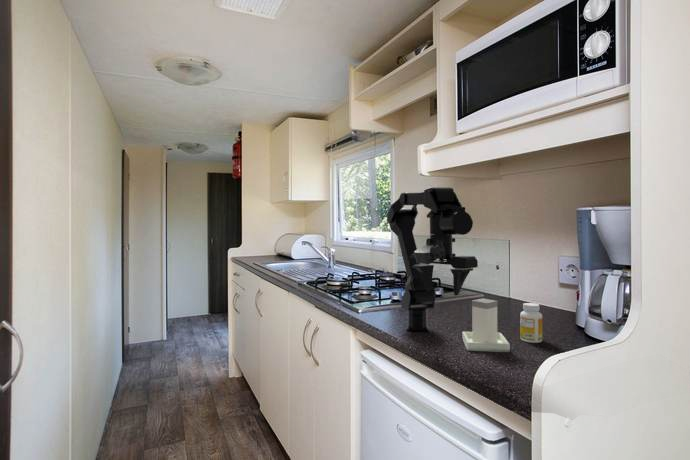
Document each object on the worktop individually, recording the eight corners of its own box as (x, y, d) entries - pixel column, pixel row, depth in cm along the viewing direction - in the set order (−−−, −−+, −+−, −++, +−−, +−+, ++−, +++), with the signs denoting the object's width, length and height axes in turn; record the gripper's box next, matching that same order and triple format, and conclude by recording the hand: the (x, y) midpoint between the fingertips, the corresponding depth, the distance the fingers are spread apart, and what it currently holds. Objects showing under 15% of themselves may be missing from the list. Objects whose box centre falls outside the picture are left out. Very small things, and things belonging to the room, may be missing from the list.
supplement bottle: (536, 337, 111) (535, 302, 111) (546, 343, 106) (546, 306, 105) (516, 337, 111) (516, 302, 110) (526, 343, 105) (526, 306, 105)
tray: (462, 338, 110) (462, 331, 110) (500, 340, 108) (500, 332, 108) (467, 350, 100) (467, 342, 100) (509, 352, 99) (509, 344, 99)
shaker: (472, 342, 105) (471, 300, 105) (482, 339, 107) (482, 298, 107) (487, 346, 101) (487, 303, 101) (497, 343, 104) (497, 300, 104)
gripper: (394, 235, 109) (395, 292, 109) (450, 235, 95) (451, 301, 95) (422, 234, 116) (422, 288, 116) (478, 234, 101) (479, 296, 101)
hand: (441, 293), depth 107 cm, fingers open, 9 cm apart
